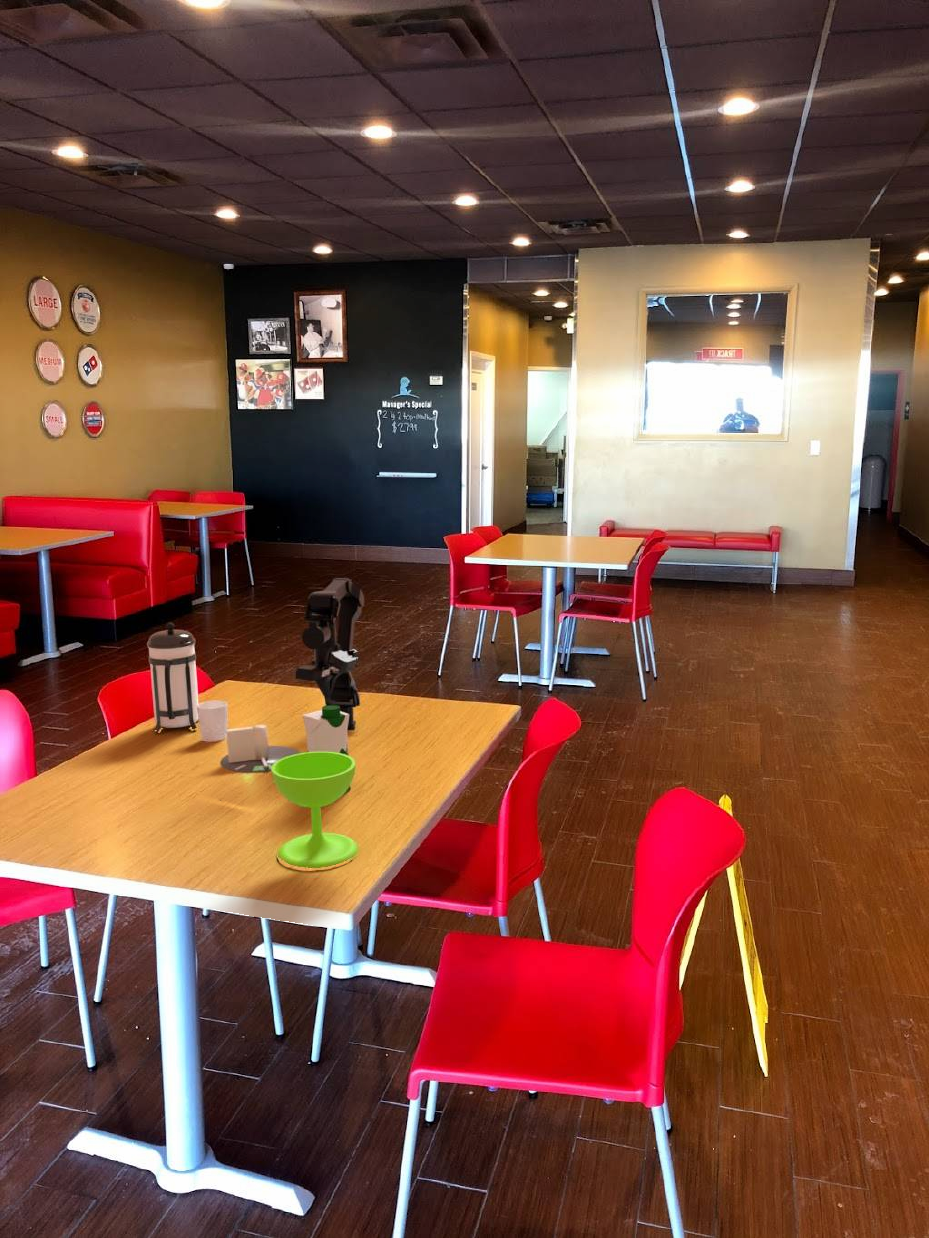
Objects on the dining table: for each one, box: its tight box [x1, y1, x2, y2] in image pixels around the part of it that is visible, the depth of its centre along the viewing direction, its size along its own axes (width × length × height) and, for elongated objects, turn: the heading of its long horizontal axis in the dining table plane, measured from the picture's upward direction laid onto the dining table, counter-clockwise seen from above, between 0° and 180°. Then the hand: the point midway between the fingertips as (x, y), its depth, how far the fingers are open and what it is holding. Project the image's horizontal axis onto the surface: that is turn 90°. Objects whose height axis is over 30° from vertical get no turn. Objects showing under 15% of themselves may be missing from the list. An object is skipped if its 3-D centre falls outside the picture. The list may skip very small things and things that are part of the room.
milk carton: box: [301, 704, 352, 791], centre depth 218 cm, size 9×9×20 cm
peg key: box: [226, 724, 269, 770], centre depth 233 cm, size 10×12×8 cm
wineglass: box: [270, 751, 359, 868], centre depth 185 cm, size 16×16×18 cm
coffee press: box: [146, 622, 199, 731], centre depth 265 cm, size 17×16×30 cm
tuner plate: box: [219, 745, 302, 774], centre depth 239 cm, size 20×20×1 cm
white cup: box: [197, 699, 229, 742], centre depth 256 cm, size 8×8×10 cm
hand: (327, 698), depth 251 cm, fingers closed
